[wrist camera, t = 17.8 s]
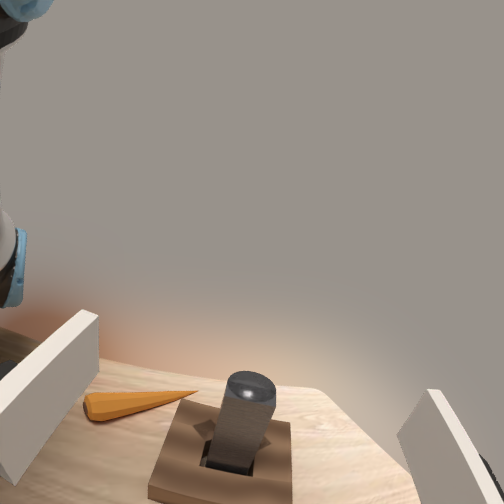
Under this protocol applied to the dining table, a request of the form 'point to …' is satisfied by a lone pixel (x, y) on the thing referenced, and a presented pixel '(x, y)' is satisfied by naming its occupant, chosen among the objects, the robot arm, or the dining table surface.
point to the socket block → (214, 481)
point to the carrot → (126, 403)
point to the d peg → (241, 422)
